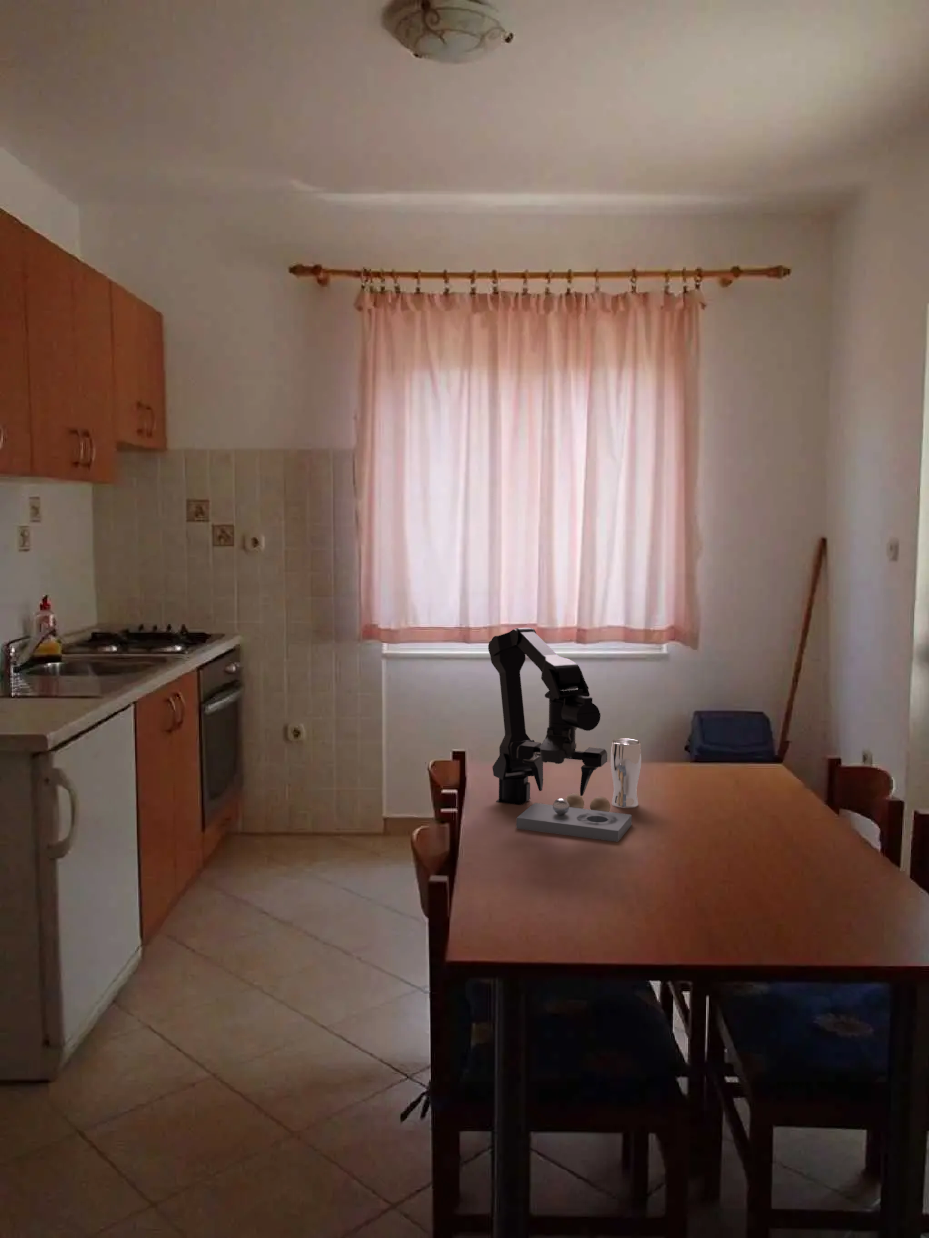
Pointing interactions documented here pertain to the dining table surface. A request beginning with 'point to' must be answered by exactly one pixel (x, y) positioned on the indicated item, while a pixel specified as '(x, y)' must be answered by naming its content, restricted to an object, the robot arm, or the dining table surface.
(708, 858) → the dining table surface
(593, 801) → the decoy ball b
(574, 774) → the dining table surface
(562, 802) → the steel ball
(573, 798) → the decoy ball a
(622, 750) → the beer glass
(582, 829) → the plate
